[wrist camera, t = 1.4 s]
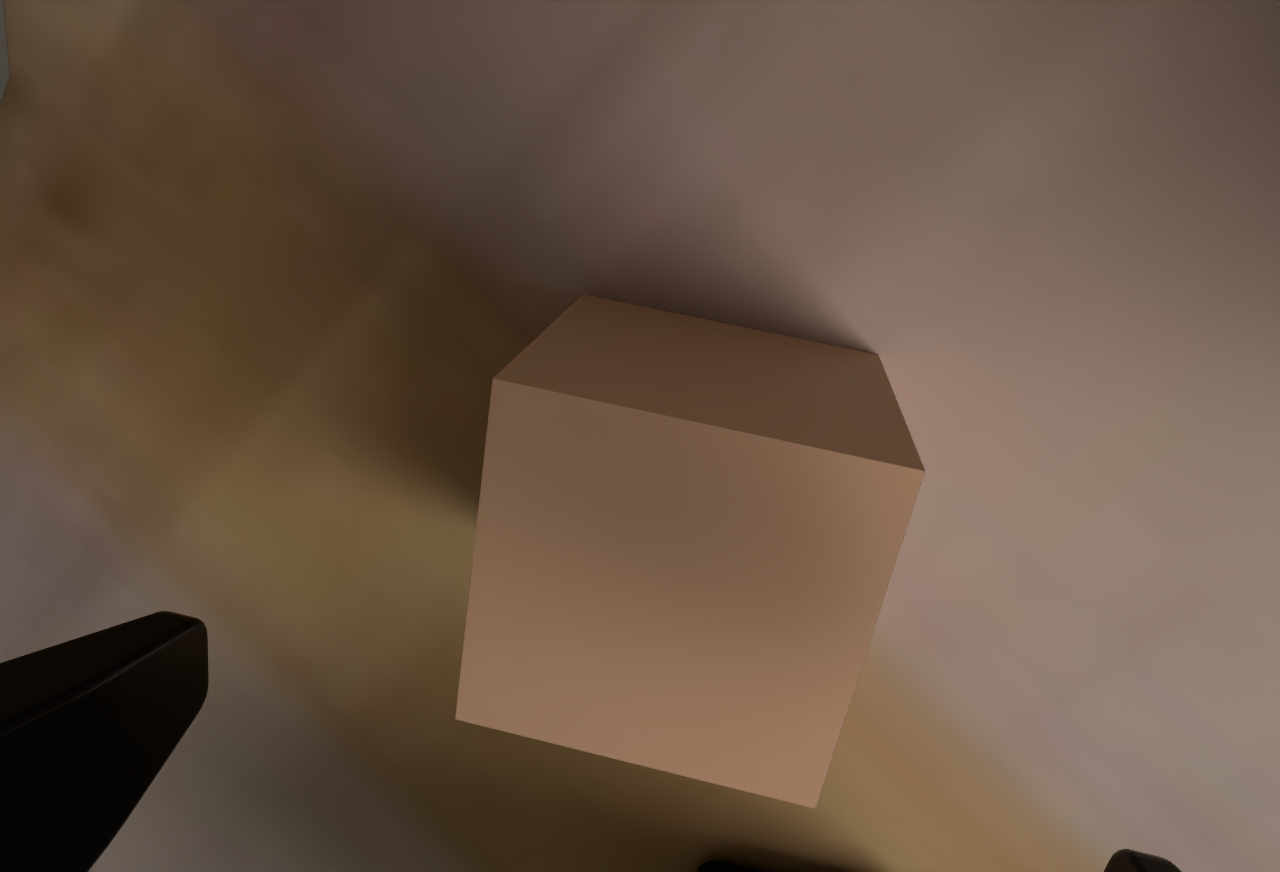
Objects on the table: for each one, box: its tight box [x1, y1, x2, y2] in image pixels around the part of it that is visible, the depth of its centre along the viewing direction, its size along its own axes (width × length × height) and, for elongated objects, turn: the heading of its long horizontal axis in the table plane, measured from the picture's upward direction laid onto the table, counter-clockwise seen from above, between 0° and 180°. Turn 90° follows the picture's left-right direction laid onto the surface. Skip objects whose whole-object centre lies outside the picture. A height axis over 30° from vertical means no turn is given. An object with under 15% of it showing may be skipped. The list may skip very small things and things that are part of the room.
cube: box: [455, 294, 925, 808], centre depth 13 cm, size 5×5×5 cm
